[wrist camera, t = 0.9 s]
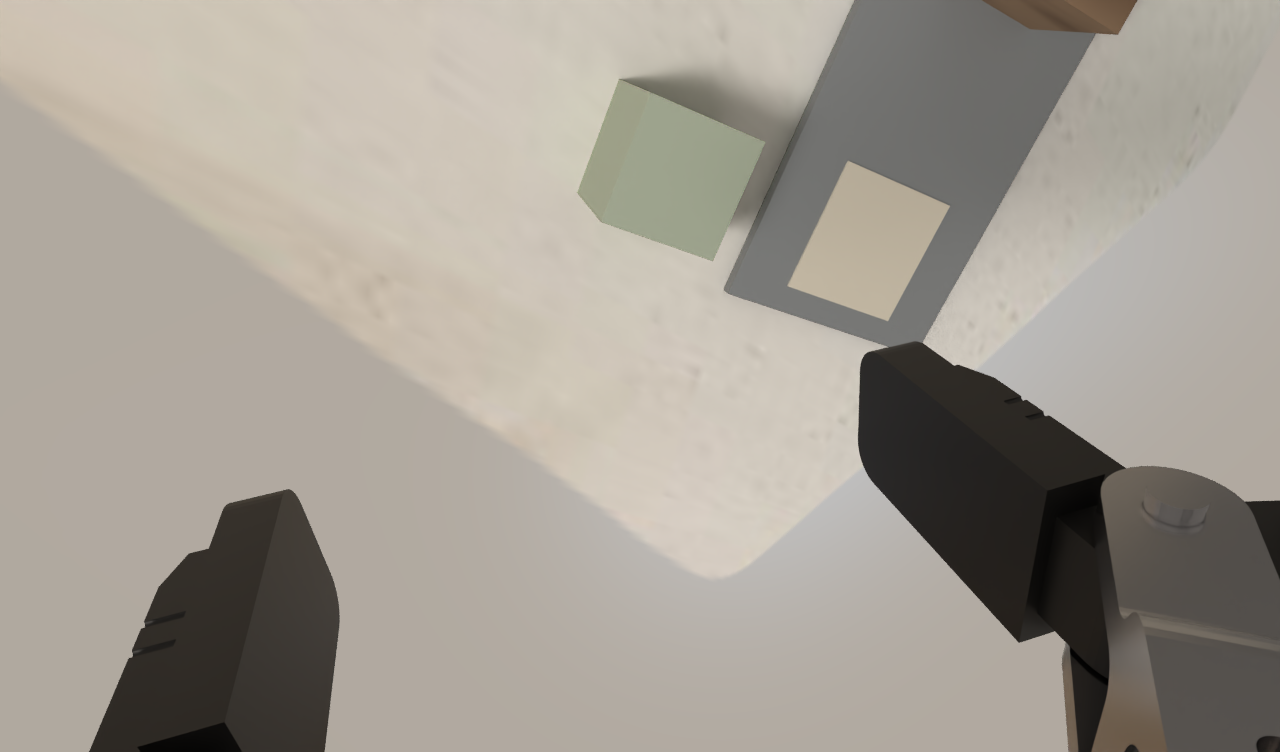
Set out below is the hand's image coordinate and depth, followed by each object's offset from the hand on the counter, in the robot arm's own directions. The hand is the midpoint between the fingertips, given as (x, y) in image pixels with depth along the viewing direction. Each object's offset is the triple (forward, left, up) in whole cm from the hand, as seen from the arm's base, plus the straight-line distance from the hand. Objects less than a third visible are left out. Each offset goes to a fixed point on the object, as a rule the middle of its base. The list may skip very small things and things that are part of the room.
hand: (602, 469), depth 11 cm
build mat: (-9, +19, -24) cm, 32 cm away
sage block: (-2, +7, -24) cm, 25 cm away
